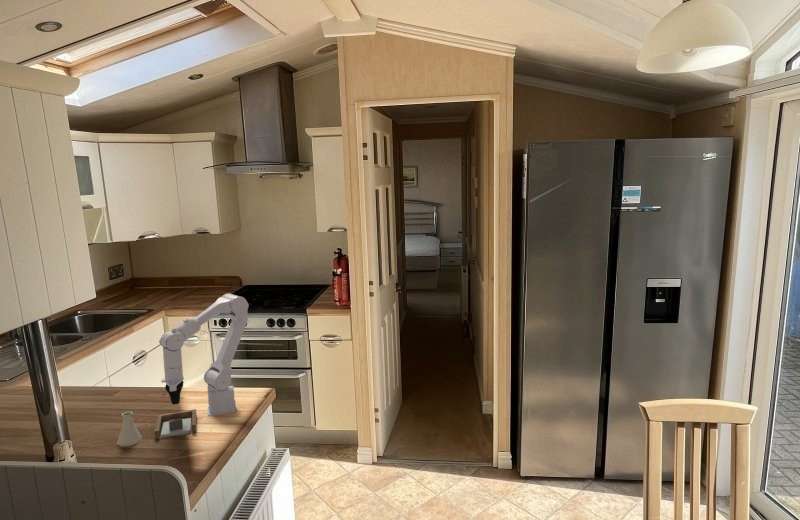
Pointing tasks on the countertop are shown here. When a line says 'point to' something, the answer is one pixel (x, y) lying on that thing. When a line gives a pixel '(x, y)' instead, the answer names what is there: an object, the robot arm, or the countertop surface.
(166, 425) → the cover plate
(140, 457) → the countertop surface
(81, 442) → the countertop surface
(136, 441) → the flask
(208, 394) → the robot arm
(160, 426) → the box
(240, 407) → the countertop surface
